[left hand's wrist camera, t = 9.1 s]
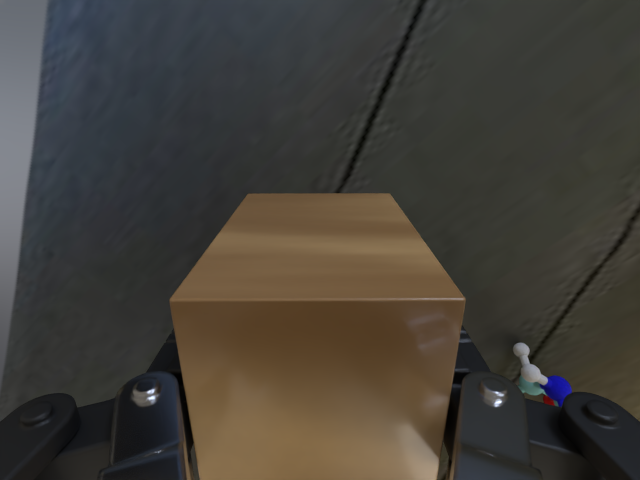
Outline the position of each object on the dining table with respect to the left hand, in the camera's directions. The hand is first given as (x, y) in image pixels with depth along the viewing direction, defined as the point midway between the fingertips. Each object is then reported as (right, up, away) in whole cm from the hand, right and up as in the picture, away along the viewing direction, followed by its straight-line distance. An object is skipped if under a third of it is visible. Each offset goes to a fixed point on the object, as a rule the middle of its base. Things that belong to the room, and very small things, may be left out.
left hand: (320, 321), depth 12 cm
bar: (0, -8, +7) cm, 11 cm away
